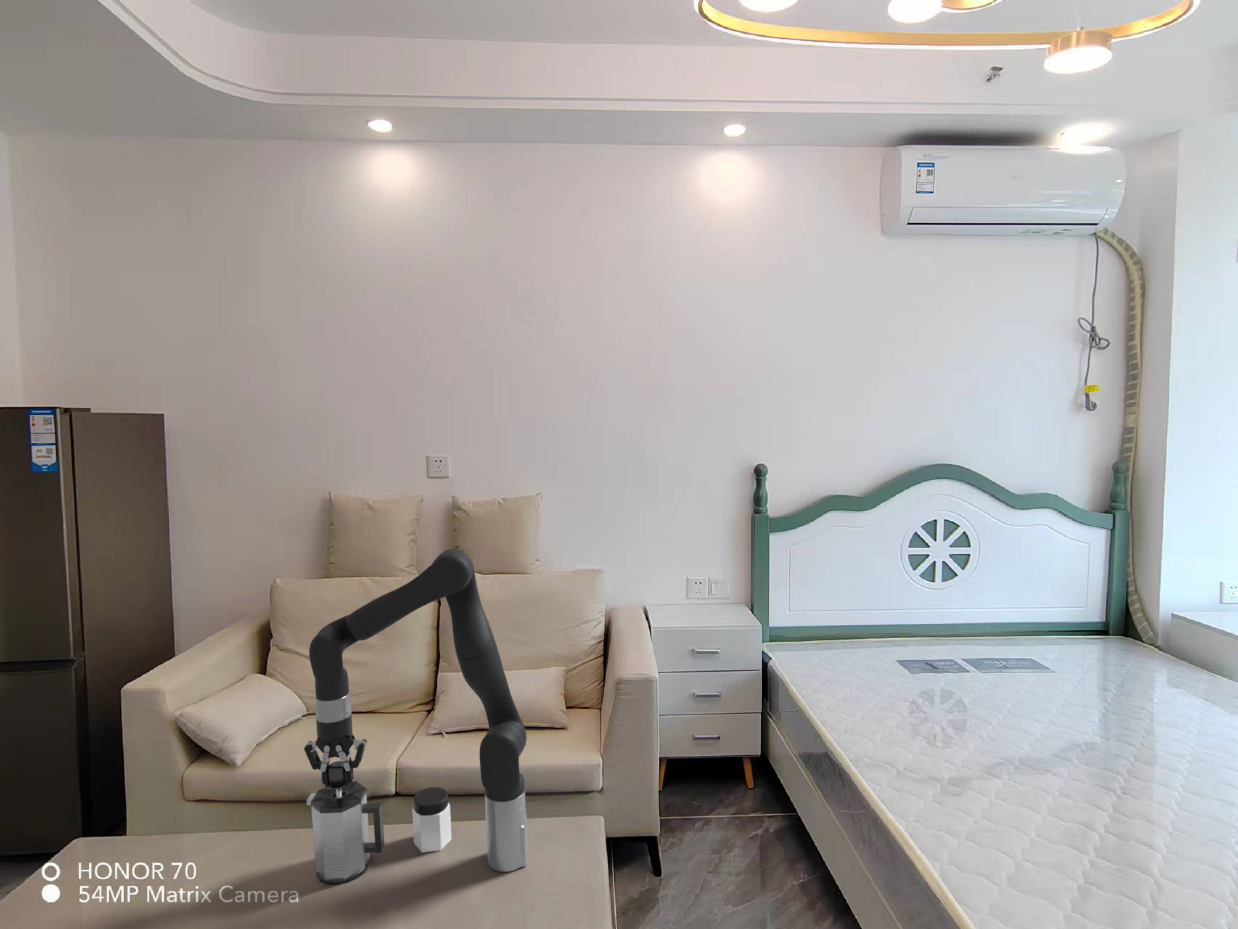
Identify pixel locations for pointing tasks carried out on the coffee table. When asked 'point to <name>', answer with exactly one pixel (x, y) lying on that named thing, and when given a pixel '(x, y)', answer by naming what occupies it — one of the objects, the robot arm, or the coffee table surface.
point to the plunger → (336, 777)
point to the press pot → (344, 832)
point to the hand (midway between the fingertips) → (338, 784)
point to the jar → (431, 819)
